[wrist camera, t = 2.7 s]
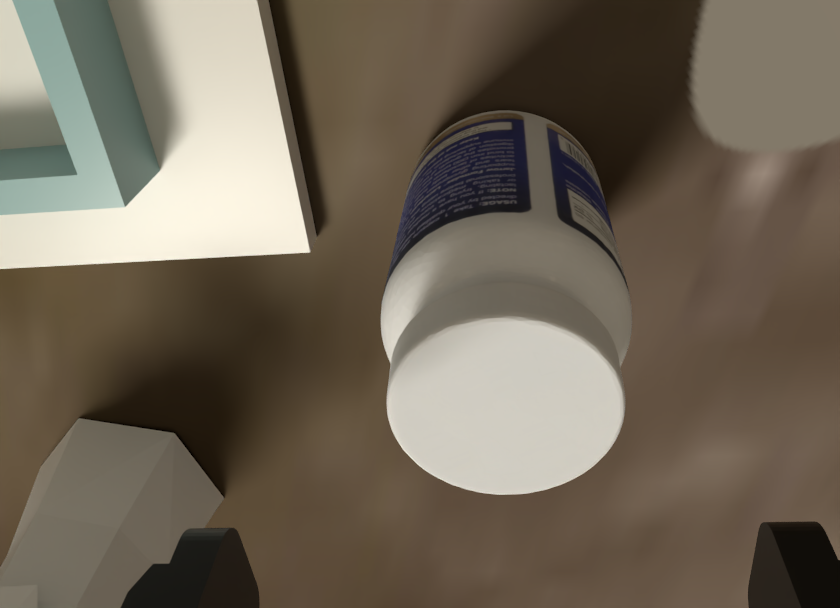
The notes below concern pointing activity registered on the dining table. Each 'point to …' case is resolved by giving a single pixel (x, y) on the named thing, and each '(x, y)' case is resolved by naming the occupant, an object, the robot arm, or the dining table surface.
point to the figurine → (103, 516)
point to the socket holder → (145, 134)
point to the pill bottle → (505, 309)
